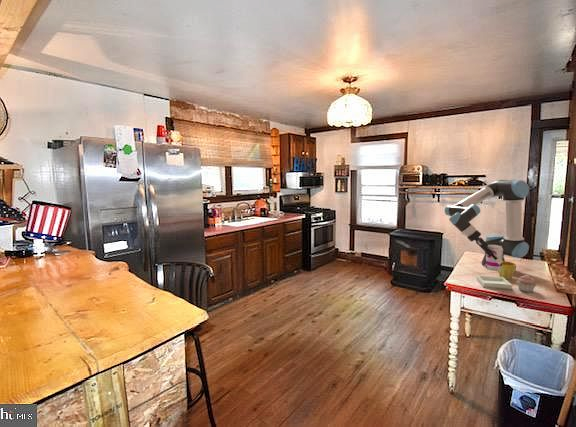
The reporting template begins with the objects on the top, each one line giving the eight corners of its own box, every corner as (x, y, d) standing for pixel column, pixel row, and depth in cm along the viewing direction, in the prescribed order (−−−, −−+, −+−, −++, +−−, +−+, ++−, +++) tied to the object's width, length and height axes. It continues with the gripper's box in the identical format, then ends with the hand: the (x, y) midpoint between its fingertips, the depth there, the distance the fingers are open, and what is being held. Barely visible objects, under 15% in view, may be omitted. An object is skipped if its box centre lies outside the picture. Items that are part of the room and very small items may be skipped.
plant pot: (511, 281, 188) (512, 266, 187) (493, 276, 197) (494, 262, 196) (518, 277, 194) (519, 263, 193) (500, 273, 203) (501, 260, 201)
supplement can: (494, 272, 177) (496, 248, 175) (482, 268, 185) (483, 245, 183) (504, 270, 179) (506, 246, 177) (491, 266, 187) (493, 244, 185)
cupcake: (526, 287, 178) (527, 271, 177) (540, 293, 169) (541, 276, 167) (511, 287, 178) (512, 271, 176) (524, 293, 168) (525, 277, 167)
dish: (476, 279, 192) (476, 275, 192) (502, 281, 188) (503, 277, 187) (483, 287, 179) (483, 282, 178) (511, 289, 174) (512, 285, 174)
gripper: (467, 234, 197) (494, 260, 190) (465, 240, 179) (495, 269, 173) (476, 227, 193) (505, 253, 186) (476, 232, 176) (507, 262, 169)
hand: (500, 261), depth 179 cm, fingers closed on supplement can, 8 cm apart
